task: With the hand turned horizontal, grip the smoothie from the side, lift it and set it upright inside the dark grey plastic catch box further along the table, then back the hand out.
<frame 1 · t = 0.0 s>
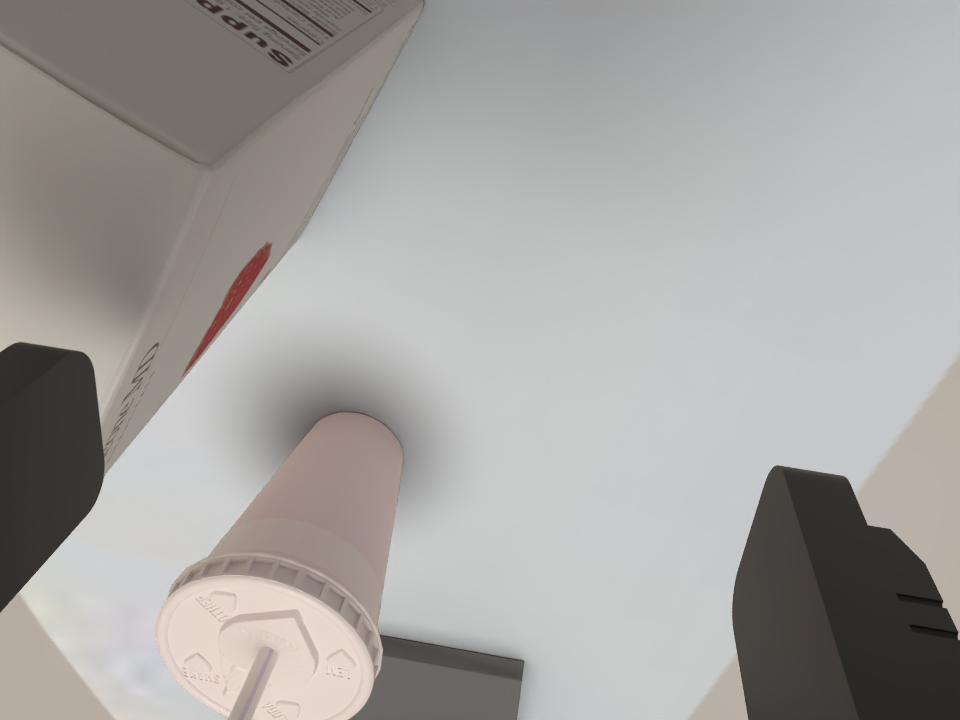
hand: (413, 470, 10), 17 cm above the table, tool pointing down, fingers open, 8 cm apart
smoothie: (356, 450, 33), on the table
catch box: (402, 715, 40), on the table
supplement box: (233, 48, 26), on the table
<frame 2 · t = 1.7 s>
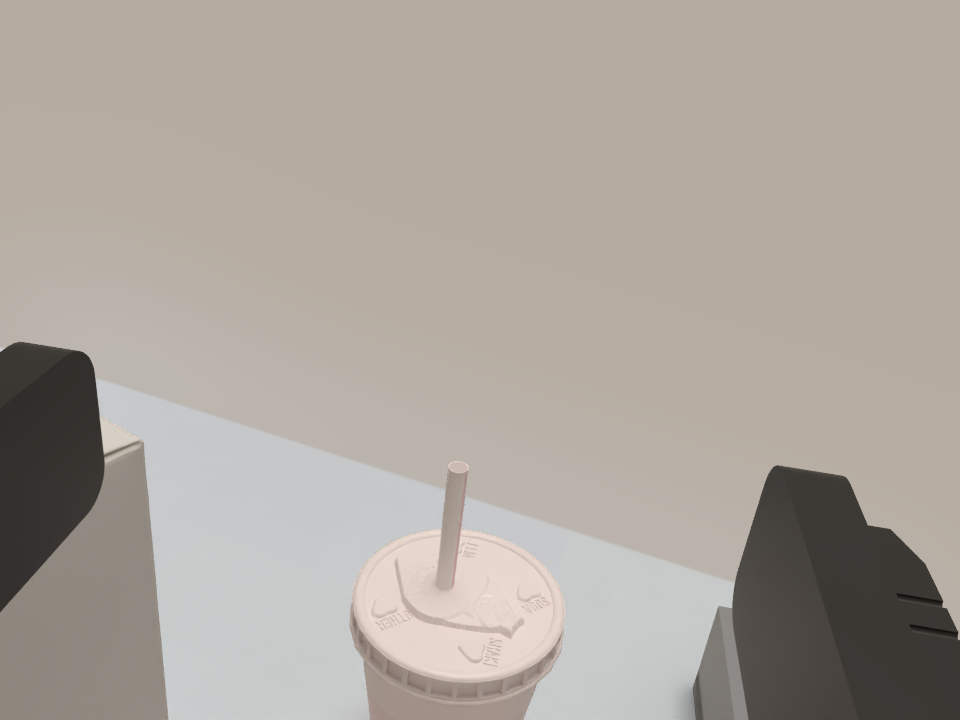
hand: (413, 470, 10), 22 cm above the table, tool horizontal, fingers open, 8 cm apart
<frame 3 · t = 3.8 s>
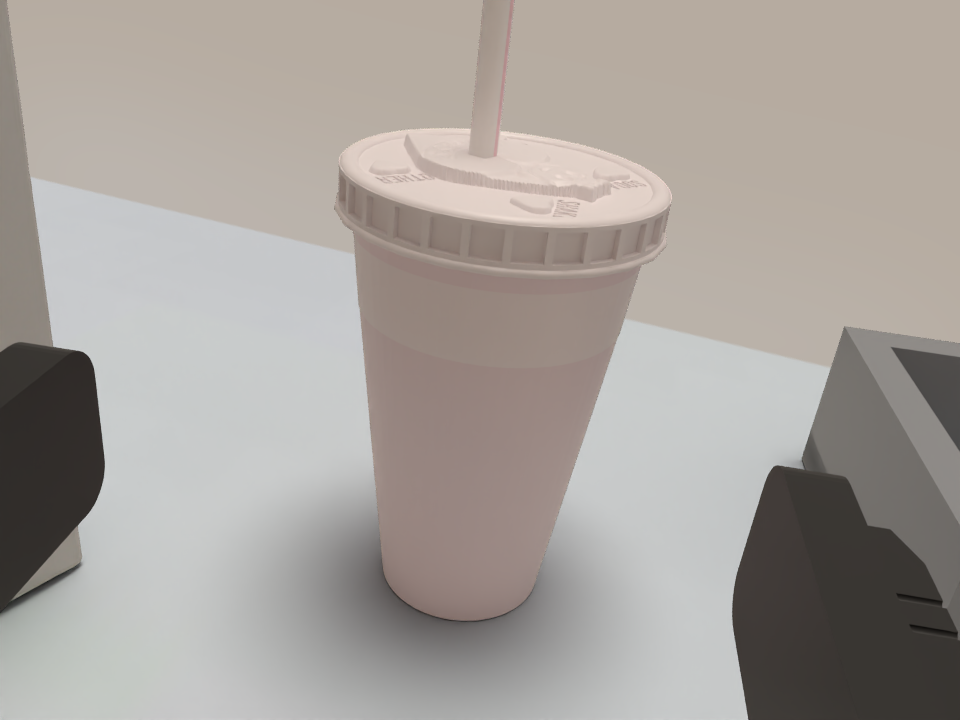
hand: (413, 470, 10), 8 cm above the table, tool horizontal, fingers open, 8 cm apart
smoothie: (459, 571, 21), on the table
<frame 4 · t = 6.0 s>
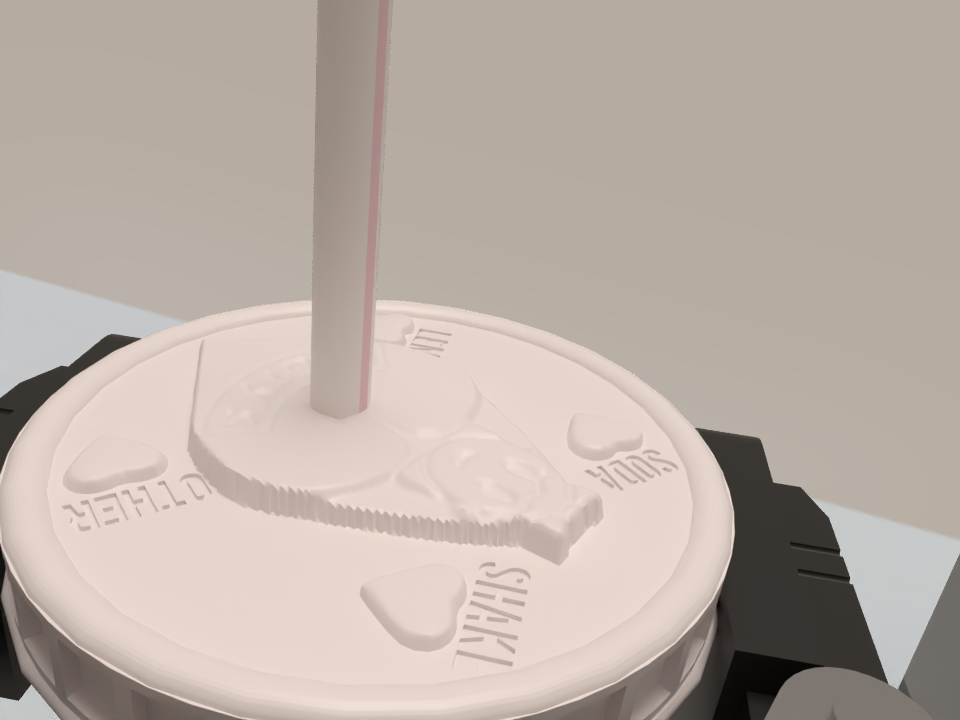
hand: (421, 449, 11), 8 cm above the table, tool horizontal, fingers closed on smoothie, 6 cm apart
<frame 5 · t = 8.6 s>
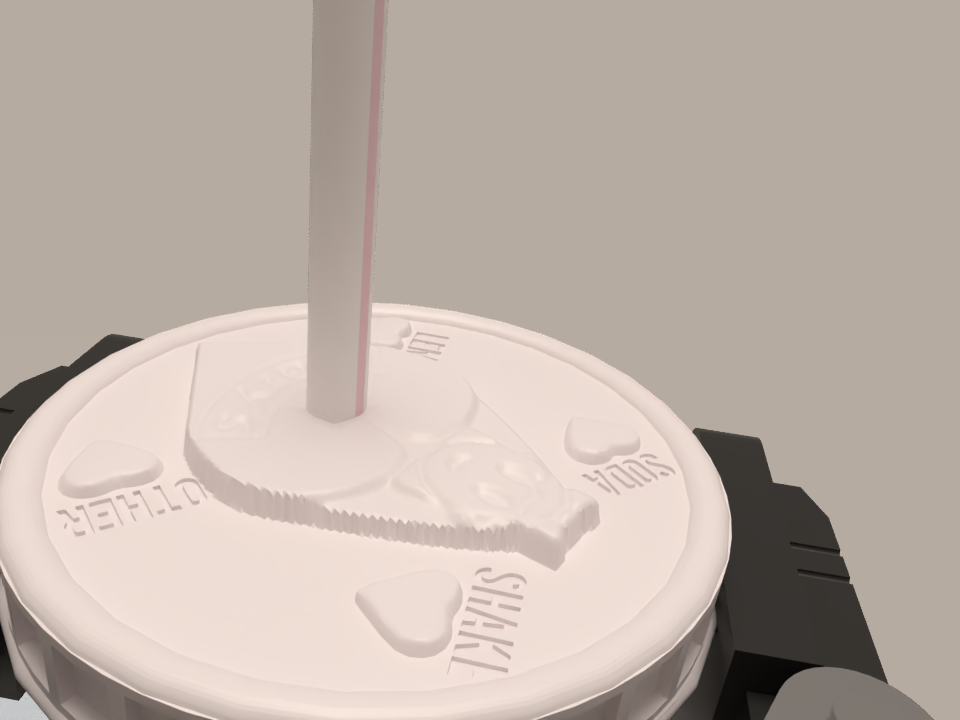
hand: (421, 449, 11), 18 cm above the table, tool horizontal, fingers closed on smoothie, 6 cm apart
when the fingers open (10 cm above the table, at t = 11.2 s): smoothie stays where it is, resting on catch box.
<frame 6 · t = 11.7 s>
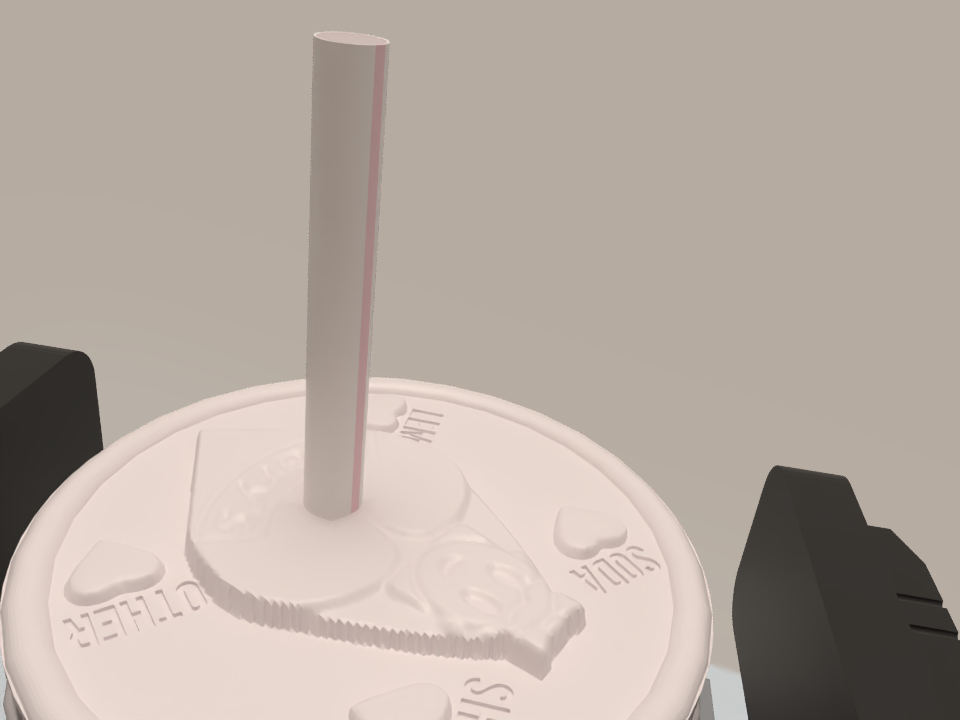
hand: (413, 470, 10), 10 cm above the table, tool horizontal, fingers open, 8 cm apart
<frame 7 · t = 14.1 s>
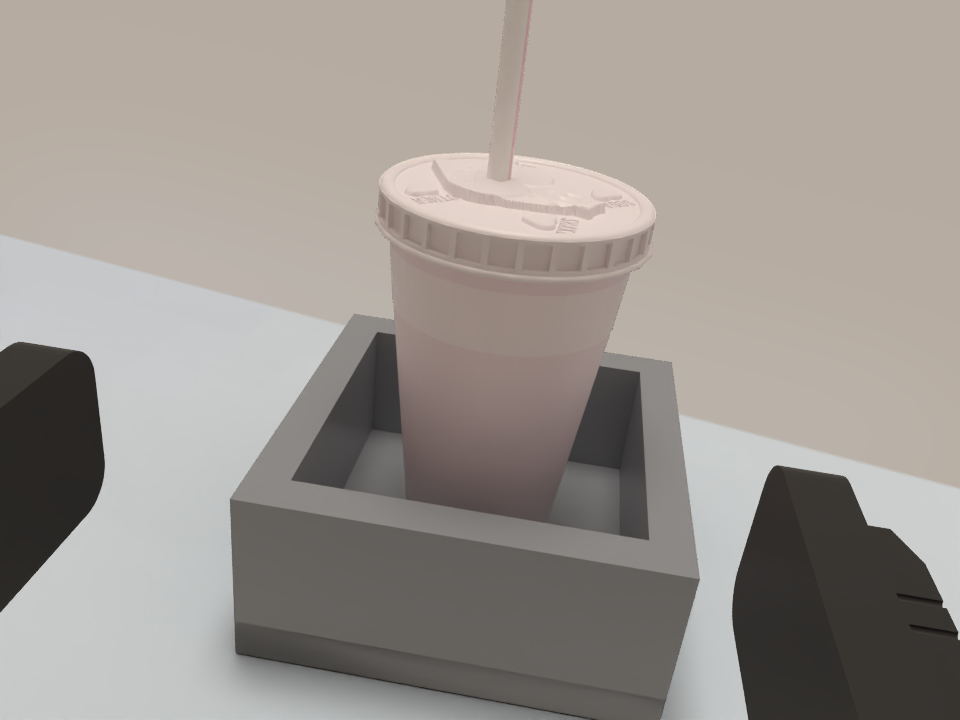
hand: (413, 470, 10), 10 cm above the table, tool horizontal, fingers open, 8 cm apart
smoothie: (474, 534, 24), point 1 cm above the table, touching catch box
catch box: (473, 553, 25), on the table
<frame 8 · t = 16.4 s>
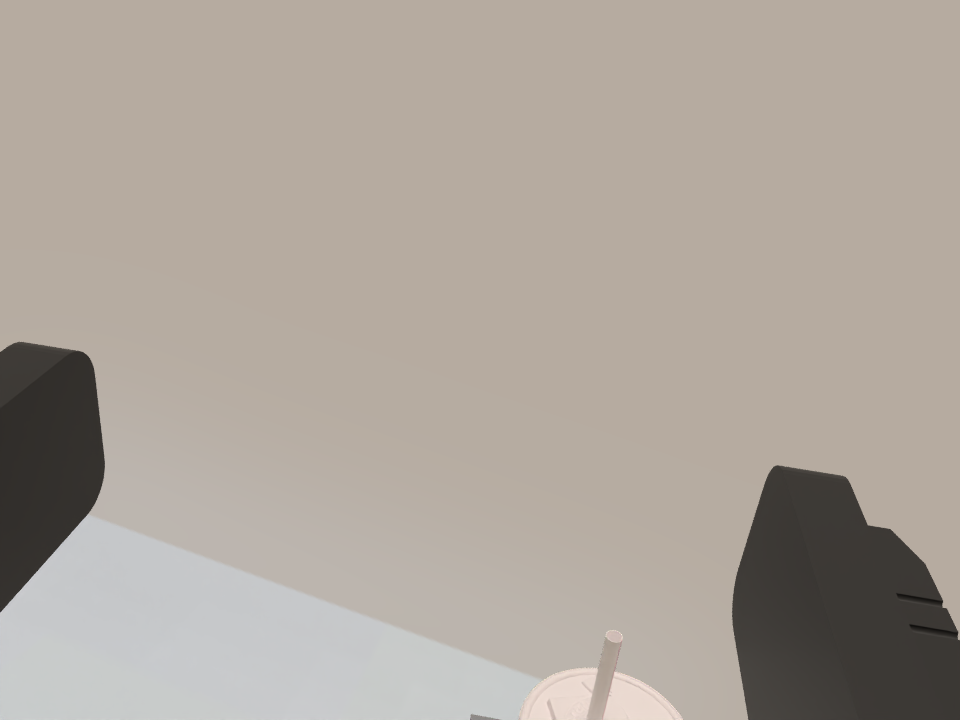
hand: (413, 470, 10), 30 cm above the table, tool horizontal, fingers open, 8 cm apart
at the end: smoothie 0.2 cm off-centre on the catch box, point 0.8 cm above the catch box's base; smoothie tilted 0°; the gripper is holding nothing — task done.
